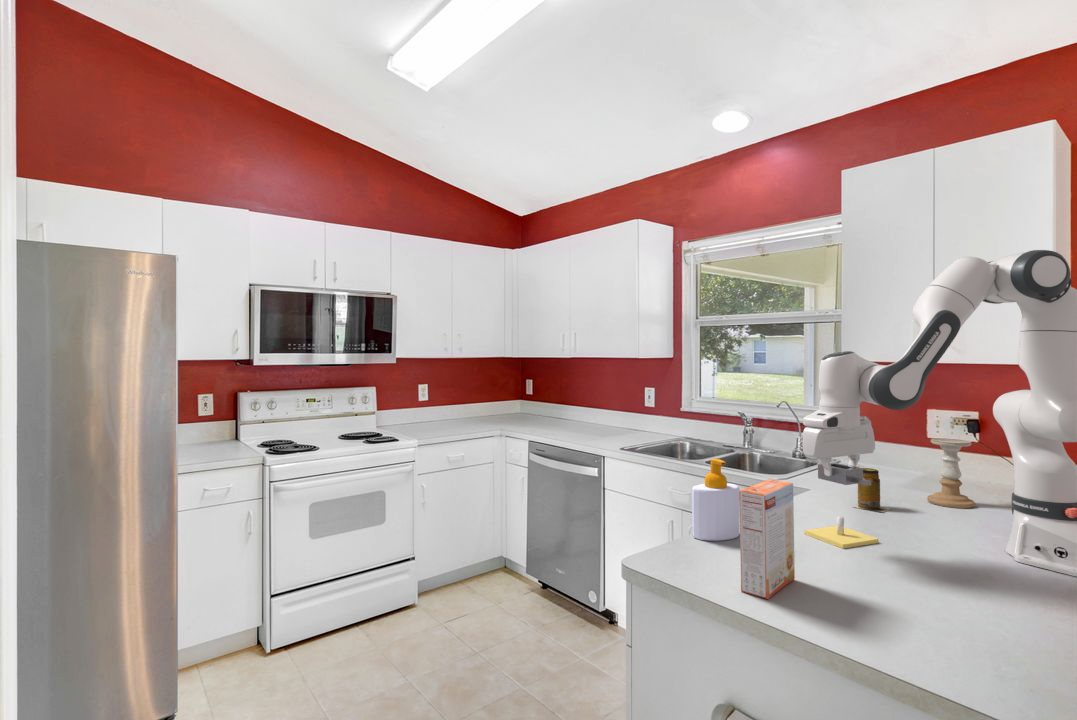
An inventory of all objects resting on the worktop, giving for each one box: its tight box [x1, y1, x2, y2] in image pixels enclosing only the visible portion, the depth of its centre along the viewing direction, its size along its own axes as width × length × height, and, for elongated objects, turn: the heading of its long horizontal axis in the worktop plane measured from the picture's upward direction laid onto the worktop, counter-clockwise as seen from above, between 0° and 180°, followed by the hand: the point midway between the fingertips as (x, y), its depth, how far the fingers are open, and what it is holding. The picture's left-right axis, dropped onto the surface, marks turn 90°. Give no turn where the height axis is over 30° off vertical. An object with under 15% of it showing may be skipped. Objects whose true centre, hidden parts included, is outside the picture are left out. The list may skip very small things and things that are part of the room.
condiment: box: [852, 467, 892, 513], centre depth 172 cm, size 7×8×12 cm
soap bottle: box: [691, 458, 740, 542], centre depth 146 cm, size 13×8×20 cm, turn 105°
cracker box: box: [739, 478, 796, 600], centre depth 115 cm, size 14×6×21 cm, turn 134°
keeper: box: [803, 515, 879, 549], centre depth 144 cm, size 12×12×6 cm
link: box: [817, 462, 871, 486], centre depth 134 cm, size 12×6×4 cm, turn 20°
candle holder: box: [926, 437, 976, 509], centre depth 176 cm, size 12×12×20 cm
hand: (840, 474), depth 136 cm, fingers closed on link, 6 cm apart
